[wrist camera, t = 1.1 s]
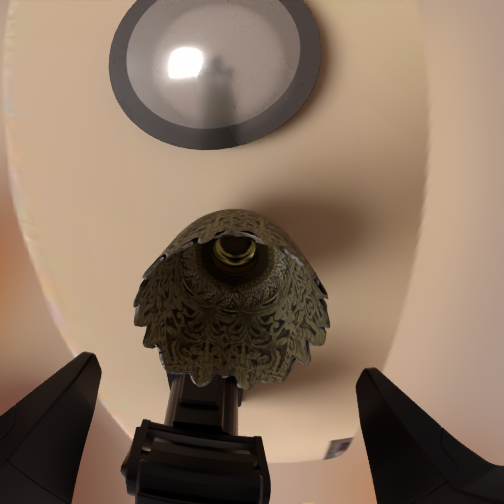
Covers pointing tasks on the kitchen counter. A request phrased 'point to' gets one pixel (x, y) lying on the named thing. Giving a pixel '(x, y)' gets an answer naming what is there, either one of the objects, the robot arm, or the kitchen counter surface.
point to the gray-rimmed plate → (214, 68)
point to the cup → (232, 302)
